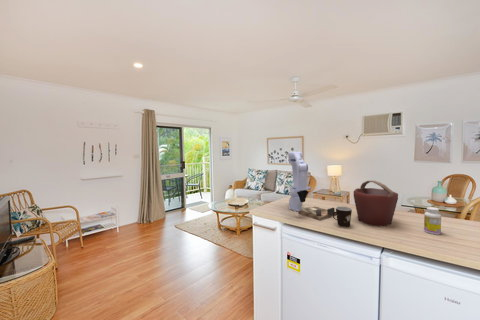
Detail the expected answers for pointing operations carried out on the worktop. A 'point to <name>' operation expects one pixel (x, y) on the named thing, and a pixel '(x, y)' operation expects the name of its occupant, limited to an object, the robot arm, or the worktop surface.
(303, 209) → the folding leg
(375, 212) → the bucket
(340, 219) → the coffee mug
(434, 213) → the supplement bottle
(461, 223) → the worktop surface
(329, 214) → the stool seat
